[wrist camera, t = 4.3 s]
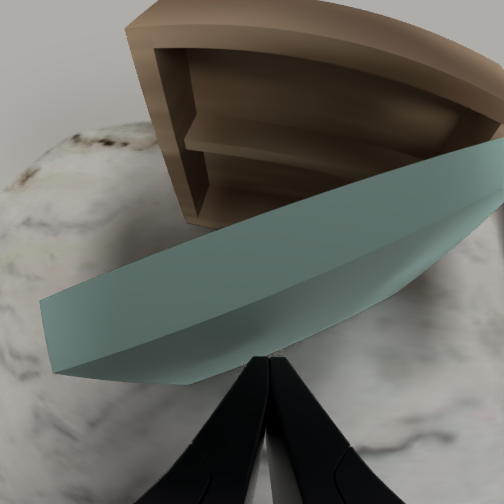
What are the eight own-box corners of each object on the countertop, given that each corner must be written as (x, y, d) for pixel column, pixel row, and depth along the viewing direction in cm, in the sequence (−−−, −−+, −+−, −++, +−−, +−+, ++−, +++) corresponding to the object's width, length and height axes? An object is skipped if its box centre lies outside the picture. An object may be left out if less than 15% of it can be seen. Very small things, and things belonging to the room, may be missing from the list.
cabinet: (398, 265, 16) (530, 116, 6) (186, 222, 17) (124, 28, 7) (398, 219, 17) (499, 65, 7) (202, 179, 18) (167, -7, 8)
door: (410, 285, 16) (546, 163, 6) (188, 385, 14) (53, 373, 4) (400, 266, 16) (523, 131, 6) (179, 361, 14) (39, 300, 4)
